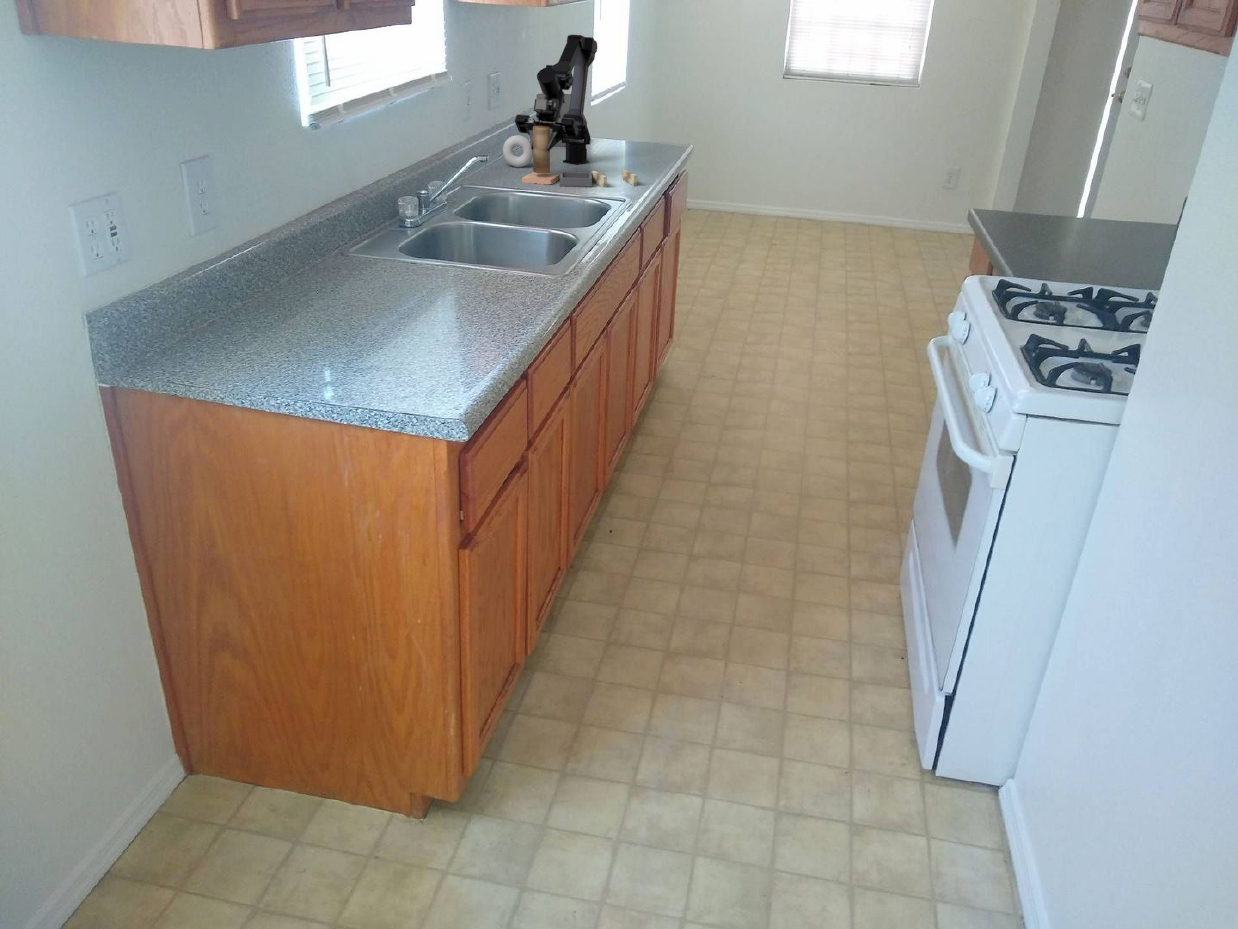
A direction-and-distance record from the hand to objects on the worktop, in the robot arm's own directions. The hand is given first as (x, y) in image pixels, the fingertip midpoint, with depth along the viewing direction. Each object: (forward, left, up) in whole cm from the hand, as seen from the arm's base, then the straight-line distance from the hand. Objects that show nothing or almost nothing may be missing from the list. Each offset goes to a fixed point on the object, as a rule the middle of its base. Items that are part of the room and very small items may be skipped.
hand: (539, 149), depth 285 cm
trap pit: (+9, +6, -10) cm, 15 cm away
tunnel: (+17, +14, -10) cm, 25 cm away
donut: (-20, +13, -10) cm, 26 cm away
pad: (0, +1, -10) cm, 10 cm away
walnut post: (0, +1, -7) cm, 7 cm away
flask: (-37, +54, -10) cm, 66 cm away
